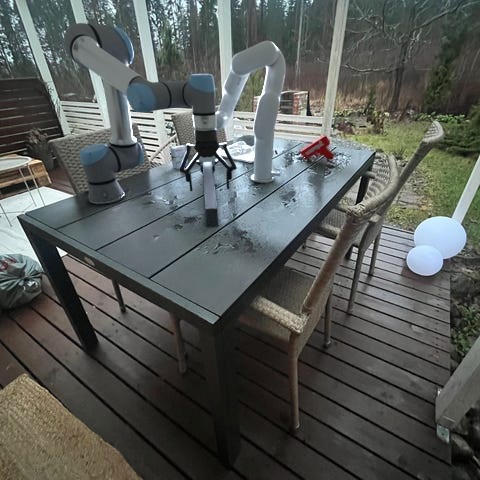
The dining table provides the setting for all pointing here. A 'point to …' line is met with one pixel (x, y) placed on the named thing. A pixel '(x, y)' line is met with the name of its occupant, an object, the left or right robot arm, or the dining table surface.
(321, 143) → the toy gun
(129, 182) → the dining table surface
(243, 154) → the relief map
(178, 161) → the ink box
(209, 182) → the bar
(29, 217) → the dining table surface
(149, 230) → the dining table surface
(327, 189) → the dining table surface
